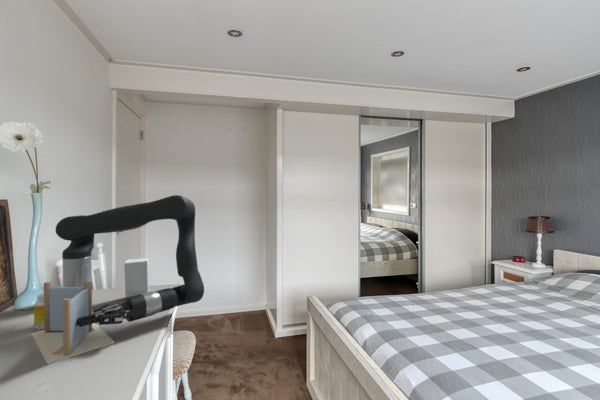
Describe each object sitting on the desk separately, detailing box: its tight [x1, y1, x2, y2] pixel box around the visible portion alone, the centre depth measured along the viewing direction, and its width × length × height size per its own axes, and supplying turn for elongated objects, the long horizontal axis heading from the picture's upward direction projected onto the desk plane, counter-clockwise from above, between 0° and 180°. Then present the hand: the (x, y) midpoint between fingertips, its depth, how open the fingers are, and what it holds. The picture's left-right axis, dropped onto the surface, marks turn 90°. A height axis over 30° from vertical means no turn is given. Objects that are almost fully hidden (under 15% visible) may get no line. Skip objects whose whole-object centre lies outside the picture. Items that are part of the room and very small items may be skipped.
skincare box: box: [123, 257, 150, 298], centre depth 125 cm, size 8×7×16 cm
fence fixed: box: [43, 281, 93, 333], centre depth 95 cm, size 14×2×15 cm, turn 94°
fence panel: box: [63, 289, 89, 355], centre depth 87 cm, size 14×1×14 cm, turn 16°
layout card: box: [31, 323, 115, 365], centre depth 91 cm, size 23×15×1 cm, turn 48°
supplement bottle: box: [33, 292, 44, 330], centre depth 99 cm, size 6×6×10 cm
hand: (78, 322), depth 86 cm, fingers closed
